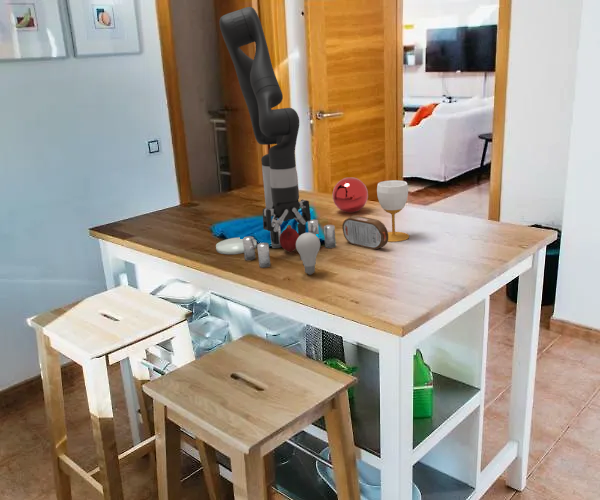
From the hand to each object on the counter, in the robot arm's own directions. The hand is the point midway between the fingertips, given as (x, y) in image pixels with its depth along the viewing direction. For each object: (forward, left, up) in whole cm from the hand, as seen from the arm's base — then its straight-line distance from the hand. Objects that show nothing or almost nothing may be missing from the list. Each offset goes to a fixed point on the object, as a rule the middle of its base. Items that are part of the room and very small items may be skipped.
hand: (288, 240), depth 169 cm
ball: (-38, -20, -4) cm, 43 cm away
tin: (-18, +11, -4) cm, 22 cm away
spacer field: (0, 0, -4) cm, 4 cm away
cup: (-29, +11, -4) cm, 32 cm away
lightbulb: (+6, +18, -4) cm, 19 cm away
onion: (0, 0, -4) cm, 4 cm away
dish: (+9, -16, -4) cm, 18 cm away
